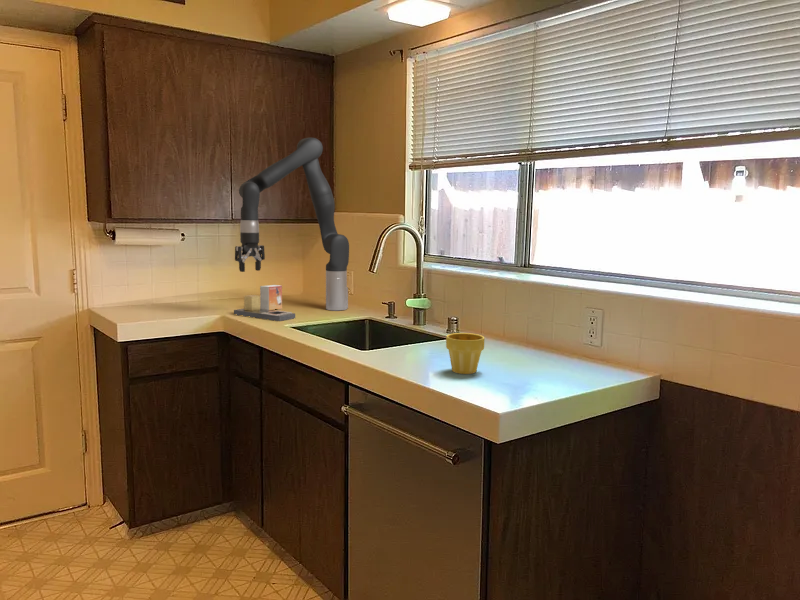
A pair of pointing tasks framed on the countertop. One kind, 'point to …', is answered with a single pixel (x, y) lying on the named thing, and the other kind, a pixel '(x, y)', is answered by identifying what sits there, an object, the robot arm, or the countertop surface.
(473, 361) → the plant pot
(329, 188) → the robot arm
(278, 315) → the grey slotted board
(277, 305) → the small box
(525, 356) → the countertop surface
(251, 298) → the nut block
